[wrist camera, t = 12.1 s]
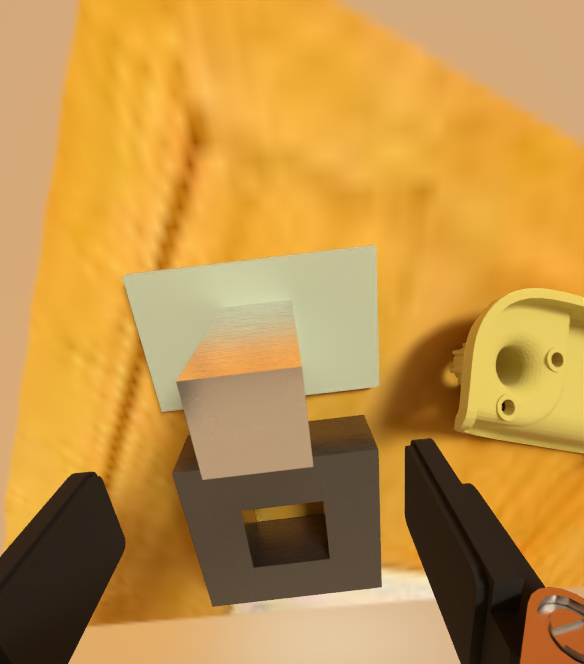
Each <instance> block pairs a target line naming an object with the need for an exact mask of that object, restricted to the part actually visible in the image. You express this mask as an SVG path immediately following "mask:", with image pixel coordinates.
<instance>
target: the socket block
mask: <svg viewBox="0 0 584 664" xmlns="http://www.w3.org/2000/svg"><path fill="white" fill-rule="evenodd" d="M308 424H309V433H310V441H311V450H312V459H313V467H308V468H299V469H291V470H282V471H274V472H265V473H257V474H249V475H240V476H232V477H223V478H215V479H206V480H202V476H201V473H200V469H199V465H198V461H197V458H196V454H195V450H194V446H193V443H192V439H191V435H188V437H187V439H186V442H185V444H184V447H183V449H182V451H181V454H180V456H179V459H178V461H177V463H176V466H175V468H174V471H173V473H172V474H173V477H174V480H175V484H176V487H177V490H178V494H179V497H180V500H181V504H182V507H183V510H184V513H185V517H186V520H187V523H188V527H189V530H190V533H191V537H192V540H193V543H194V546H195V550H196V553H197V556H198V560H199V563H200V566H201V570H202V573H203V576H204V579H205V583H206V586H207V589H208V593H209V596H210V599H211V603H212V606H222V605H231V604H239V603H248V602H257V601H266V600H274V599H283V598H292V597H300V596H309V595H318V594H326V593H335V592H344V591H352V590H361V589H370V588H378V587H382V582H381V541H380V499H379V457H378V448H377V445H376V443H375V440H374V438H373V436H372V433H371V431H370V429H369V426H368V424H367V422H366V419H365V417H364V415H359V416H351V417H342V418H334V419H325V420H317V421H308ZM320 501H322V507H323V515H314V516H305V517H297V518H288V519H279V520H271V521H262V522H257V520H256V515H255V510H254V509H260V508H268V507H277V506H286V505H294V504H303V503H311V502H320Z"/></svg>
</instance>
